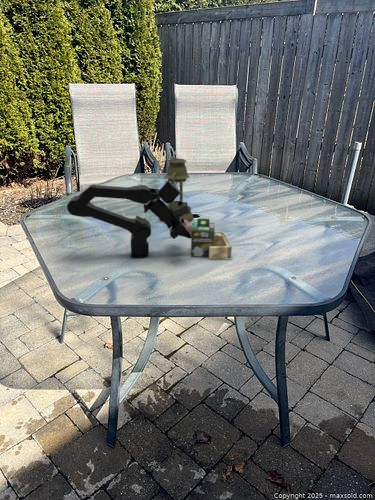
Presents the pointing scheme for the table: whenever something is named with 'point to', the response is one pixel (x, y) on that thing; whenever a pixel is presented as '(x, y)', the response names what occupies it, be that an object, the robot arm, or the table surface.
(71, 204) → the robot arm
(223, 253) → the wooden square frame
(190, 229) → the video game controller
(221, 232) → the wheel
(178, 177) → the lantern
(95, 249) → the table surface
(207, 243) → the chalk box
